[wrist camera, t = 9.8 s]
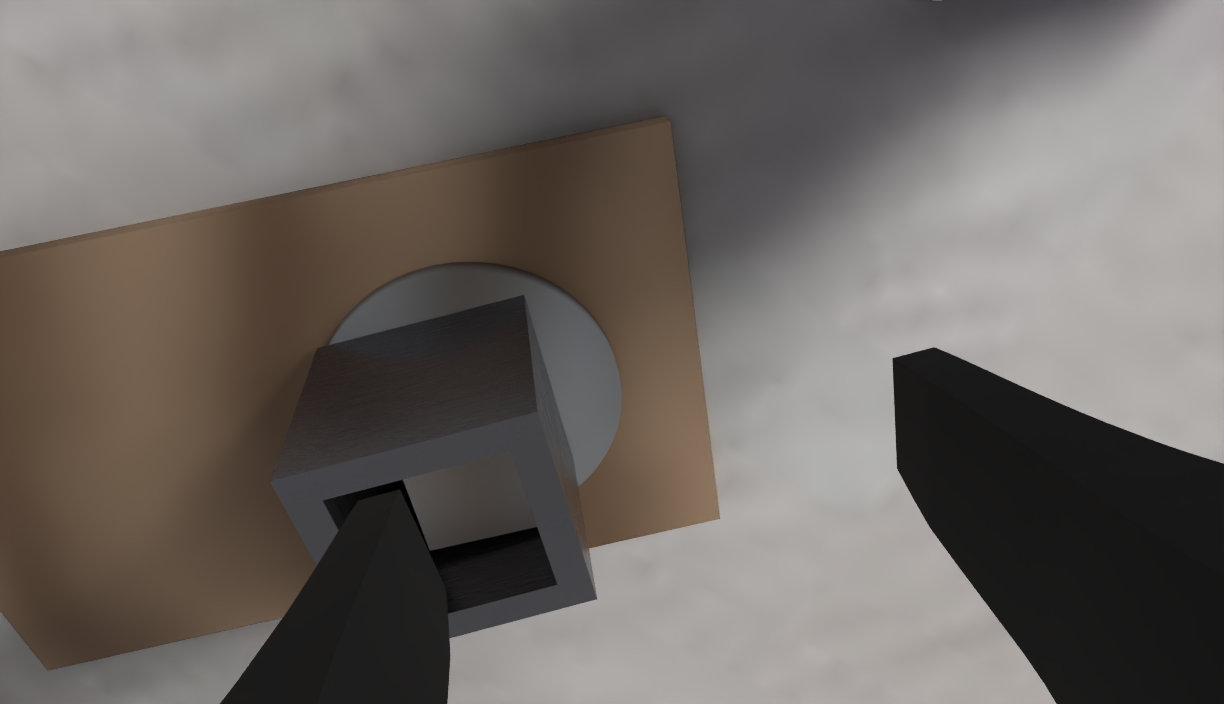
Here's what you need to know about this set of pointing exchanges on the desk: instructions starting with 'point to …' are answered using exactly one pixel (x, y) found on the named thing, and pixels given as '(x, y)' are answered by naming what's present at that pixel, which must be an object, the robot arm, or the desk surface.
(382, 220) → the wooden board
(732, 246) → the desk surface
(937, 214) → the desk surface
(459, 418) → the socket sleeve
